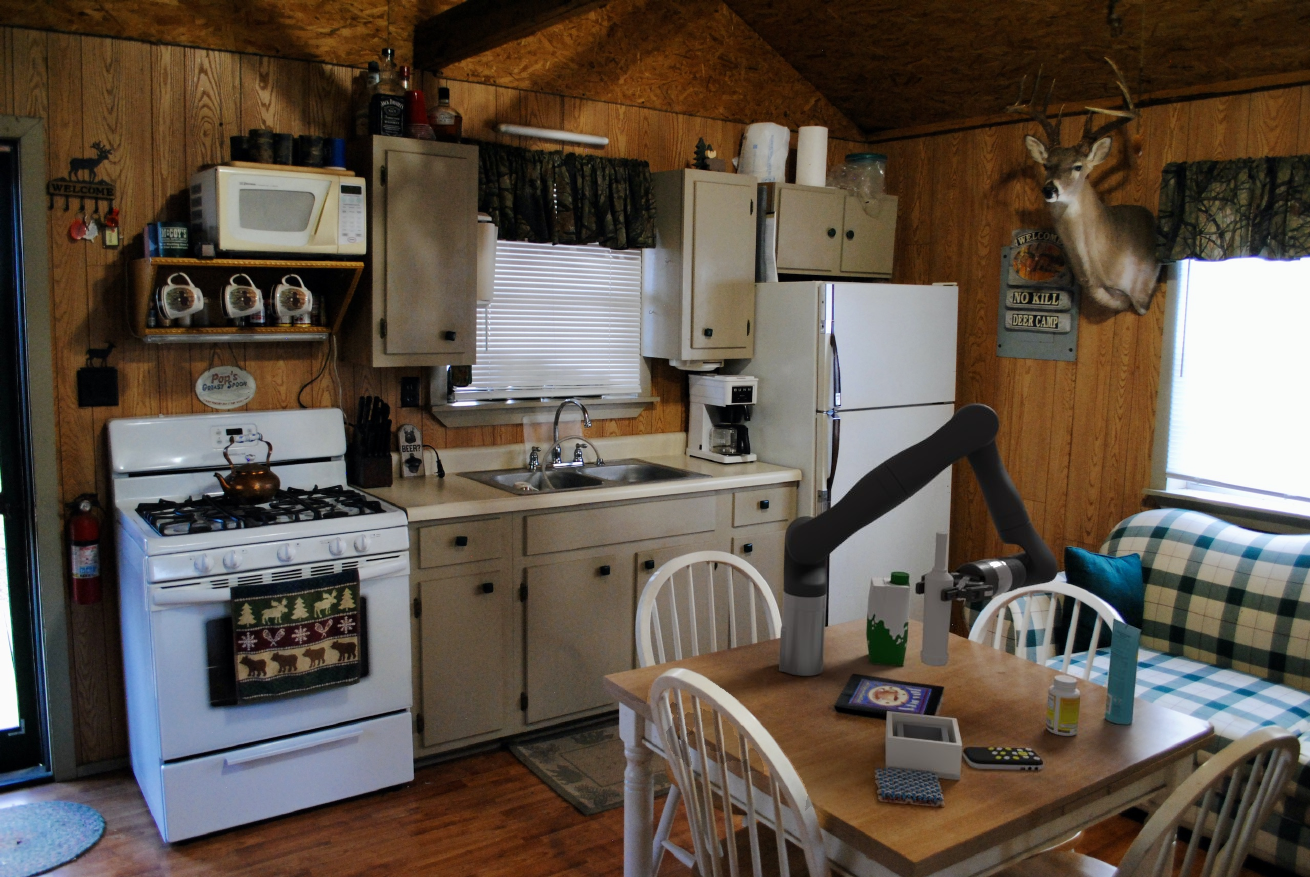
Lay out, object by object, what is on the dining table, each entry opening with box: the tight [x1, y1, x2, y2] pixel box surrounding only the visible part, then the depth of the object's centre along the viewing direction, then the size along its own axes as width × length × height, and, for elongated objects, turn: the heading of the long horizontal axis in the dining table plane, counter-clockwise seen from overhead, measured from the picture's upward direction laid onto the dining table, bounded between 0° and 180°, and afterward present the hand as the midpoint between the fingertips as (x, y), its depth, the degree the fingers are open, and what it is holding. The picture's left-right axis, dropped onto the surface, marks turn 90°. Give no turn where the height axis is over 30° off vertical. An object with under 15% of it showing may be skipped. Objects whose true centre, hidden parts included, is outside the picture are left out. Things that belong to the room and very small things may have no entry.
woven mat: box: [873, 766, 946, 808], centre depth 164 cm, size 10×11×2 cm
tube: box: [1104, 618, 1142, 725], centre depth 195 cm, size 7×5×19 cm, turn 20°
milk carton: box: [865, 571, 911, 667], centre depth 226 cm, size 9×9×20 cm
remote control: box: [962, 746, 1044, 771], centre depth 176 cm, size 6×13×2 cm, turn 91°
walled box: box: [884, 710, 963, 781], centre depth 175 cm, size 12×12×6 cm
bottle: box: [919, 531, 953, 667], centre depth 190 cm, size 5×5×25 cm
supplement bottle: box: [1045, 674, 1081, 737], centre depth 189 cm, size 6×6×10 cm
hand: (930, 592), depth 188 cm, fingers closed on bottle, 5 cm apart
